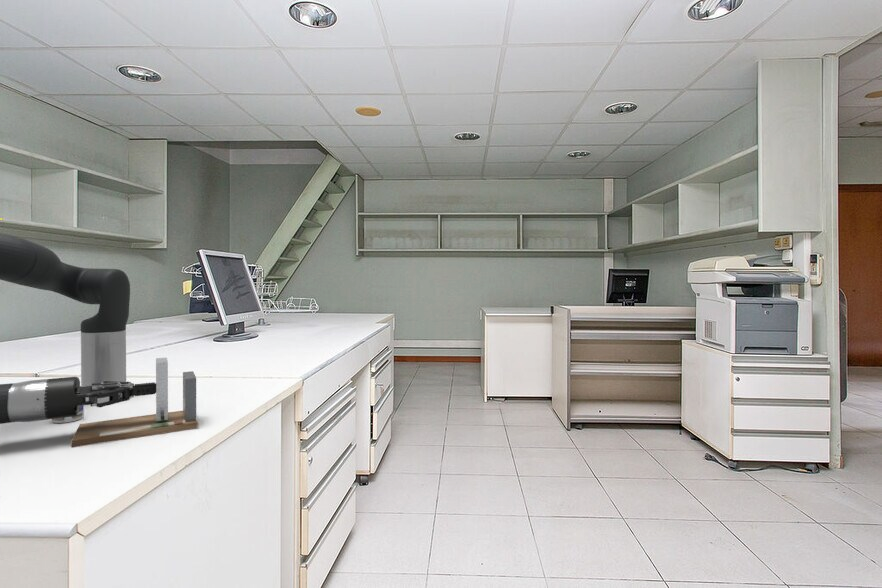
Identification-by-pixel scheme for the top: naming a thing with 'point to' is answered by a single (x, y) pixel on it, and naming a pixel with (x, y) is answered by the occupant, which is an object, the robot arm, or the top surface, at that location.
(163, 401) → the brushed steel sheet
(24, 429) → the top surface
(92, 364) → the robot arm
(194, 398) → the grey wood-grain slab
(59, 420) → the pill bottle
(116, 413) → the top surface
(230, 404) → the top surface
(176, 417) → the brown wooden base board
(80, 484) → the top surface
